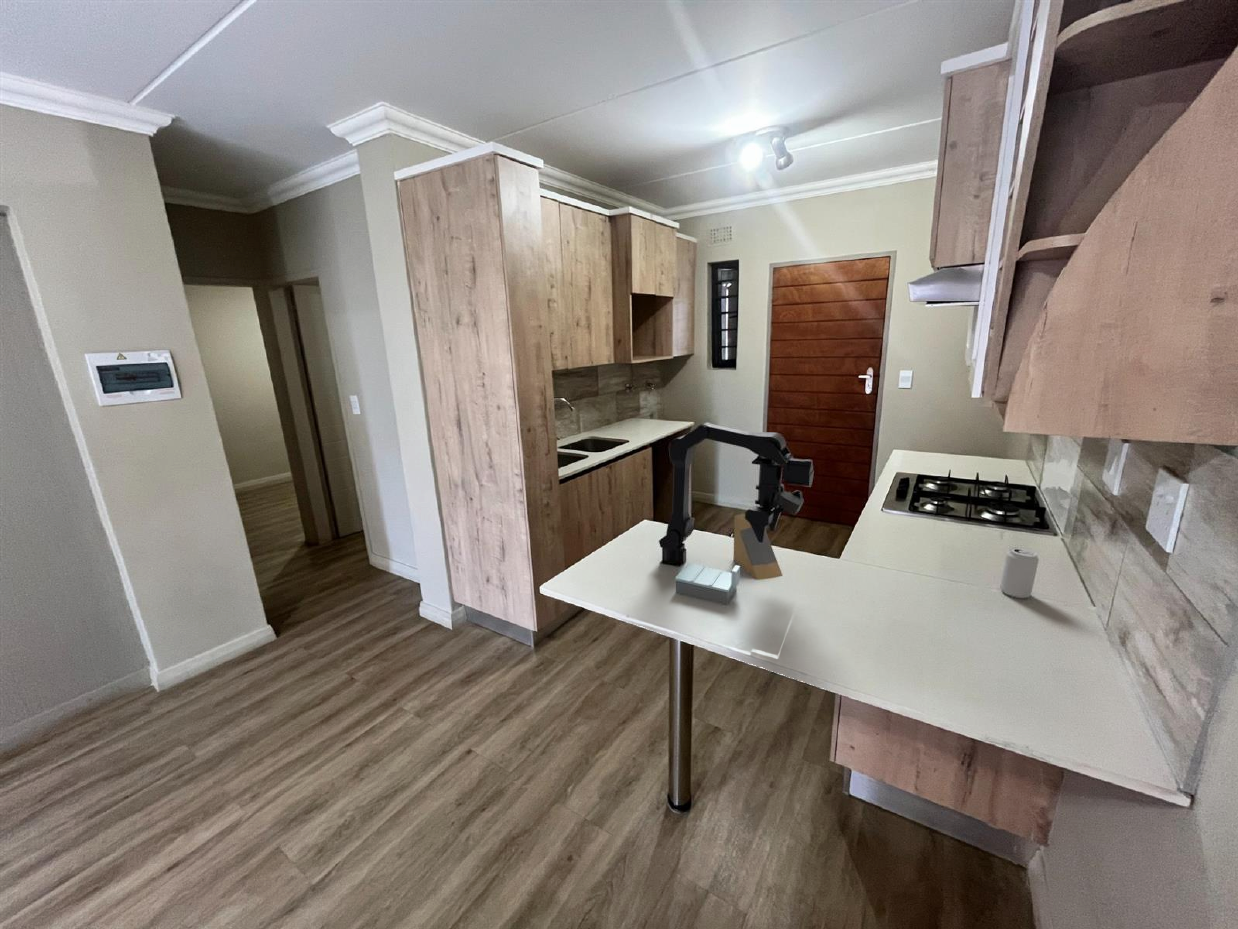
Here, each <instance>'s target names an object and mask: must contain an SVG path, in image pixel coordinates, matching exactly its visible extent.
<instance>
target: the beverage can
mask: <svg viewBox="0 0 1238 929" xmlns="http://www.w3.org/2000/svg"><path fill="white" fill-rule="evenodd" d="M1039 559H1040V558H1039V557H1038V553H1037V552H1036V551H1034V550H1031V549H1029V548H1026V547H1018V546H1013V547H1009V549H1008V551H1006V554H1005V560H1004V564H1003V570H1002V574H1001V578H1000V584H999V589H1000V590H1001V591H1002V593H1004V594H1005V595H1007V596H1009V597H1012V598H1016V599H1026V598H1029V597H1031V596H1032V592H1033V587H1034V584H1035V578H1036V574H1037V569H1038V565H1039Z"/></svg>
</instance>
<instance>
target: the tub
mask: <svg viewBox="0 0 1238 929" xmlns="http://www.w3.org/2000/svg"><path fill="white" fill-rule="evenodd" d="M737 587H738V586H737ZM737 587H736V588H730V590H729V592H728V593H727V592H723V591H719V590H714V589H710V588H706V587H701V586H697V585H693V584H688V583H684V582H680V581H675V594H679V595H684V596H687V597H691V598H696V599H699V600H704V601H708V602H712V603H715V604H716V603H717V604H720V605H725V606H728V605H729V602H730V601H731V599H732V598H733V595H735V593H736V590H737Z"/></svg>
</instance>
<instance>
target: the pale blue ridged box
mask: <svg viewBox="0 0 1238 929" xmlns="http://www.w3.org/2000/svg"><path fill="white" fill-rule="evenodd" d="M674 581H675V582H676V581H680V582H684V583H688V584H693V585H697V586H701V587H706V588H710V589H714V590H719V591H723V592H727V593H728V592H729V590H730V588H736V587H738V586H739V584H740V581H741V565H739V564H738V565H737V564H736V565H734V567H733V568H732V570H731V572H730V571H724V570H721V569H715V568H710V567H707V566H701V565H695V564H693V563H692V564H691V563H687V564H686V565H685V566H684V567H683V568H682V569H681V571H680V572H679V573H678V574H677V575H676V576H675V577H674Z"/></svg>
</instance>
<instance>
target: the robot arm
mask: <svg viewBox="0 0 1238 929" xmlns="http://www.w3.org/2000/svg"><path fill="white" fill-rule="evenodd" d="M705 440H710V441H714V442H719V443H723V444H727V445H731V446H735V447H736V446H737V447H739V448H745V449H747V450H749V451H750V452H752V453H754V454H755V455H757V457H756V458H755V459H753V460H752V461H751V464H752V465H756V466H757V465H758V466H759V472H758V483H757V484H756V485H755V490H757V498H756V499H755V500H754V504H755V505H752V506H751V507H750V508H748V509H747V510H746V511H745V512H744V514H745V519H746V520H747V521H748V522H749V523H750V525H751V527H752V529H753V531H754V533H755V535H756V537H757V540H758V542H761V543H762V542H763V540H764V536H765V531H766V532H767V526H768V527H769V531H770V532H774V531H775V530H776V528H777V524H778V522H779V520H780V519H779V518H780V516H781V514H782V512H784V511H786V512H788V514H790V515H793V516H795V515H797V513H799V511H800V510H801V507H802V505H803V504H804V502H805V499H804V498H803V492H802V491H801V490H799V489H796V490H795V491H793V492H791V491H786V490H785V484H783V483H782V480H783V481H784V482H785V483H786V484H787V485H792V486H801V487H807V488H808V487H809V488H811V487H812V485H813V480H814V473H815V471H814V465H813V462H814V461H813V459H800V458H794V456H793V454H792V452H791V451H790V449H789V448H788V446H787V442H786V439H785V438H784V436H783V434H781V433H778V432H770V431H769V432H768V431H767V432H766V431H763V432H761V431H760V432H751V431H746V430H740V429H736V428H731V427H727V426H722V425H718V424H713V423H711V422H709V421H707V422H703V423H701V424H699V425H697V427H696V428H695V429H693V430H691V431H690V432H688V433H686V434H683V435H680V436H678V437H675V438H674V439H672V440H671V441H670V442H669V445H668V453H669V459H670V462H671V463H672V464H671V465H672V466H673V482H672V513H671V515H670V518H669V520H668V523H667V527H666V532H665V535H664V536H663V537H662V538H660V539H659V540H658V543H659V547H660V548H661V560H660V562H659V564H662V565H667V566H671V567H676V568H679V567H680V568H681V566H683V565H684V564H685V563H686V562H687V549H686V544H685V541H686V540H687V539H688V538H689V537H690V536H691V535H692V533H693V531H695V530H696V528H695V526H694V524H695V517H691V516H690V513H689V497H690V496H689V494H690V474H691V473H690V470H691V469H690V468H691V465H692V463H693V460H694V457H695V453H696V449H697V446H698V445H699V444H700V443H702V442H703V441H705ZM757 505H759V506H757Z"/></svg>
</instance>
